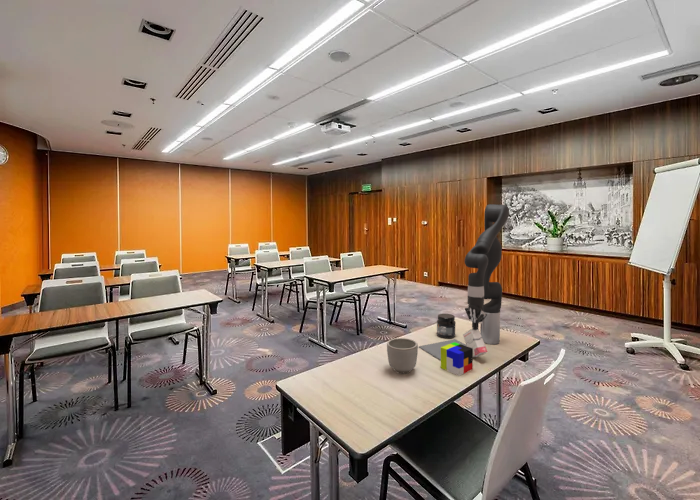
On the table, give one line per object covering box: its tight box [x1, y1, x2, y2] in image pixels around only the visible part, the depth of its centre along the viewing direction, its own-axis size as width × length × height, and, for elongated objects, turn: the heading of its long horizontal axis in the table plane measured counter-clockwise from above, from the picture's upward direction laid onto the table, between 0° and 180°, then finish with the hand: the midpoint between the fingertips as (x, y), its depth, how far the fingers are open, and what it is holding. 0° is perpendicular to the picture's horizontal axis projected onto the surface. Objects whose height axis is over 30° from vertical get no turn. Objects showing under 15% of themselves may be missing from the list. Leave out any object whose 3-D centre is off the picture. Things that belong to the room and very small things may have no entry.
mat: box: [418, 338, 466, 362], centre depth 178 cm, size 21×24×1 cm
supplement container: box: [436, 313, 457, 339], centre depth 199 cm, size 10×10×12 cm
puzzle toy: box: [440, 342, 474, 377], centre depth 157 cm, size 10×10×10 cm
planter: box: [386, 337, 419, 375], centre depth 156 cm, size 14×14×13 cm
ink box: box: [462, 328, 488, 358], centre depth 169 cm, size 9×5×12 cm
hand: (475, 329), depth 167 cm, fingers closed
